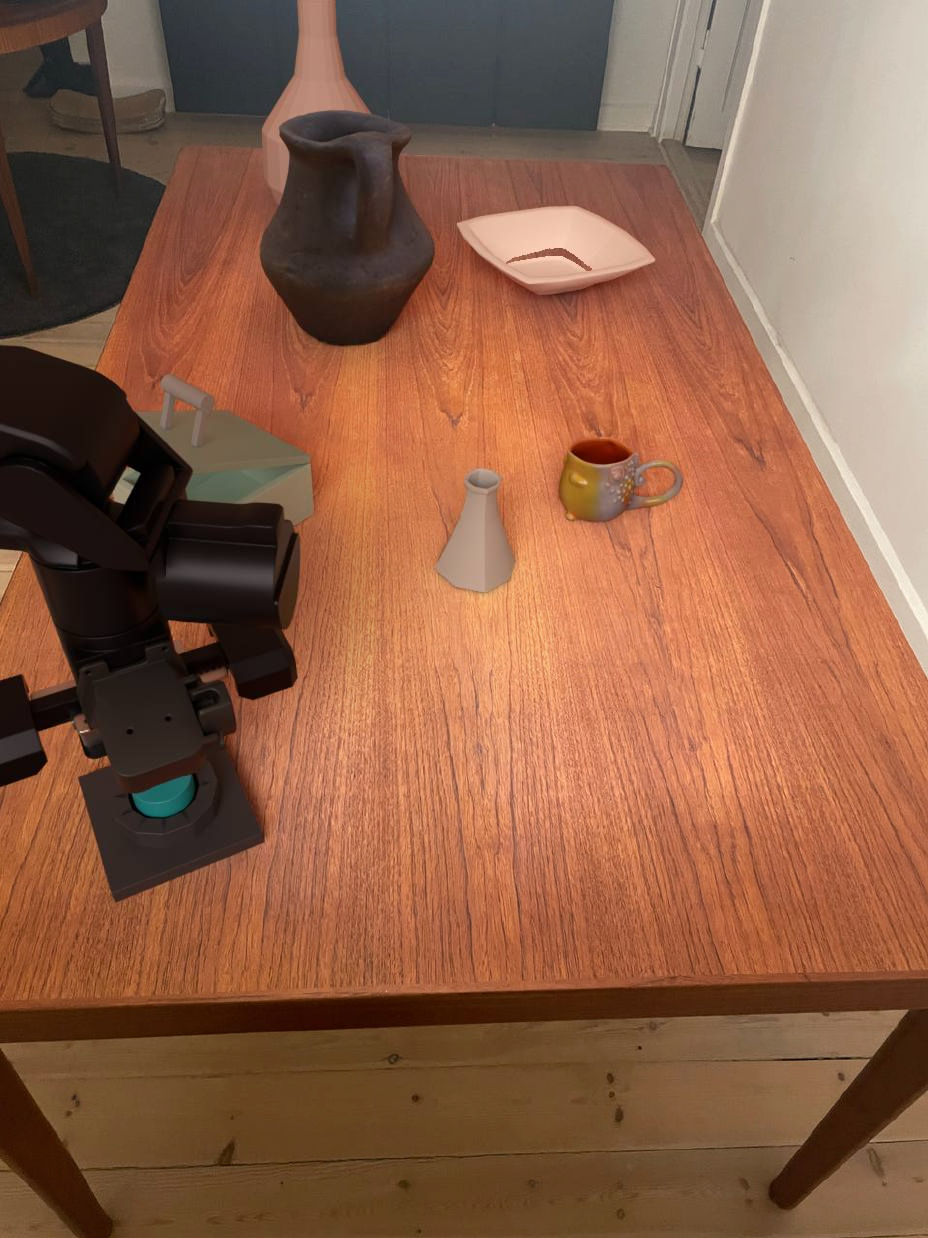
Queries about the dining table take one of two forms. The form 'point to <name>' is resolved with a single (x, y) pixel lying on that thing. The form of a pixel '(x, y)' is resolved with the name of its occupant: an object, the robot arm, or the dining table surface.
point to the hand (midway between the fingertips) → (157, 771)
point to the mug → (607, 480)
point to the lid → (215, 434)
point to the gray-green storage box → (245, 488)
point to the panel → (169, 828)
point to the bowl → (552, 229)
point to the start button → (166, 797)
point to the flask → (478, 538)
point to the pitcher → (345, 228)
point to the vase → (308, 86)
